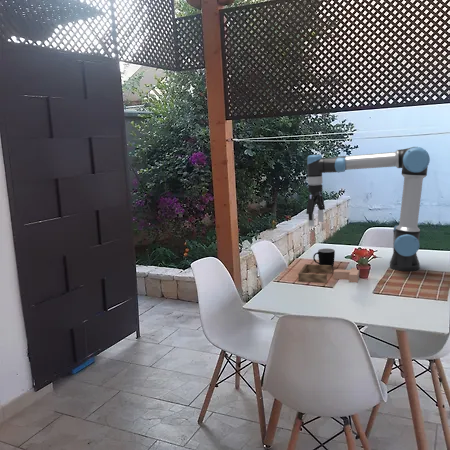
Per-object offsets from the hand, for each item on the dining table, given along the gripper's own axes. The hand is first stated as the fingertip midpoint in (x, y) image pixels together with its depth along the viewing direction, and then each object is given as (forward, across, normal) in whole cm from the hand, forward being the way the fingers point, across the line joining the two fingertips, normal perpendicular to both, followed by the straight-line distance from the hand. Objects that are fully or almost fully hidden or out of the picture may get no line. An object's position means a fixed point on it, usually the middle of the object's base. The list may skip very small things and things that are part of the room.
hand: (316, 223), depth 250 cm
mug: (+26, -7, +1) cm, 27 cm away
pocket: (+26, +10, +4) cm, 28 cm away
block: (+26, +7, +18) cm, 33 cm away
